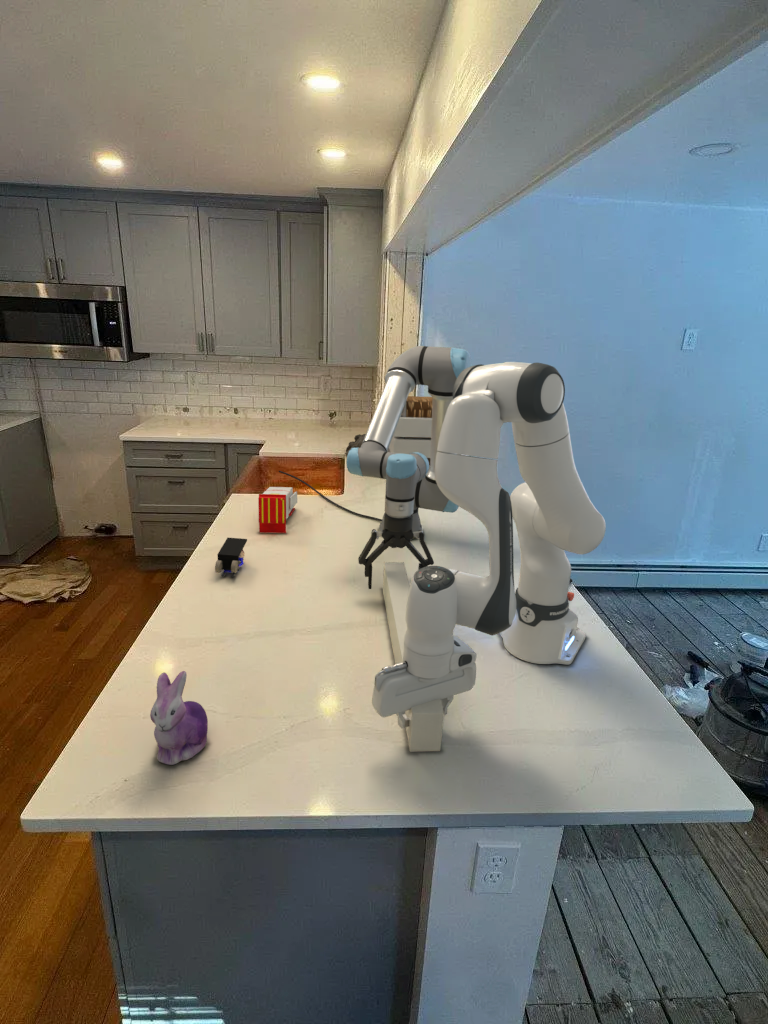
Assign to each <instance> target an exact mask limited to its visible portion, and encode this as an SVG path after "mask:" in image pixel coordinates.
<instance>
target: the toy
mask: <svg viewBox="0 0 768 1024" xmlns="http://www.w3.org/2000/svg"><path fill="white" fill-rule="evenodd" d="M293 490H294V488H293V487H288V486H286V487H285V486H269V487H268V488H267V489H265V490H264V492H262V493H258V498H257V499H258V530H259V531H258V533H261V534H262V533H264V534H287V520H288V518H289V517H291V516H292V515H293V514H294V512H295V510H296V508H295V506H296V504H298V491H297V490H296V491H293Z"/></svg>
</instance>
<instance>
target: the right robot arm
mask: <svg viewBox="0 0 768 1024" xmlns="http://www.w3.org/2000/svg"><path fill="white" fill-rule="evenodd" d="M565 393H566V386H565V381H564V379H563V376H562V375H561V373H560V372H559V370H558V369H557V368H556V367H555V366H552V365H550V364H547V363H543V362H533V363H532V362H522V361H505V362H500V363H490V364H481V363H480V364H475V365H472V366H471V367H468V368H466V369H464V370H463V371H462V372H461V373H460V374H459V376H458V378H457V379H456V382H455V384H454V388H453V400H452V401H451V403H450V404H449V406H448V409H447V412H446V415H445V418H444V421H443V425H442V429H441V432H440V437H439V442H438V448H437V451H441V452H437V454H436V461H435V480H436V483H437V485H438V487H439V489H440V490H441V492H442V493H443V494H444V495H445V496H446V497H447V498H448V499H449V500H450V501H452V502H453V503H454V504H456V505H458V506H459V507H458V508H460V509H463V511H466V512H468V513H469V514H471V515H473V516H474V517H475V518H476V519H477V520H479V522H481V523H482V525H483V526H484V527H485V529H486V531H487V535H488V555H489V556H488V560H489V561H488V563H489V564H488V565H489V566H488V567H489V569H488V570H489V574H488V576H483V575H478V574H474V573H468V572H464V571H460V570H457V569H452V568H449V567H448V568H447V567H444V566H440V565H428V566H427V567H423V568H421V569H419V570H418V569H417V570H416V571H415V572H414V573H413V575H412V577H411V580H410V588H409V593H408V598H407V605H406V616H405V620H406V624H407V631H406V633H405V636H404V647H403V662H401V663H397V664H395V663H394V664H392V665H387V666H384V667H382V669H381V670H380V671H379V672H377V674H375V675H374V683H373V684H374V687H373V691H372V698H371V705H372V707H373V709H374V711H376V713H377V714H378V715H379V716H380V717H381V718H387V717H390V716H394V715H396V716H397V725H398V726H399V727H400V729H406V727H408V726H409V718H408V717H407V716H406V714H405V711H406V710H410V709H411V707H414V706H417V705H420V704H423V703H426V702H429V701H433V700H436V699H439V698H440V700H441V704H442V707H443V711H444V715H447V713H448V707H449V706H450V705H451V703H452V702H453V700H454V698H455V696H457V695H460V694H462V693H467V692H470V691H471V690H472V689H473V688H474V686H475V684H476V680H477V664H476V660H477V652H476V651H475V650H474V649H473V648H472V647H471V646H470V645H469V644H468V643H467V642H465V641H464V640H463V639H462V638H460V637H459V636H457V635H454V630H455V628H456V625H457V626H462V627H466V628H470V629H473V630H475V631H478V632H480V633H483V634H486V635H489V636H496V635H498V634H499V635H500V636H501V637H502V642H503V643H502V644H503V646H504V648H505V649H506V651H507V652H508V653H510V655H512V656H514V657H515V658H517V659H519V660H522V661H525V662H528V663H532V664H536V665H537V664H538V665H551V664H560V665H565V666H566V665H571V664H573V661H574V659H575V658H576V656H577V654H578V652H579V650H580V648H581V647H582V645H583V643H584V641H585V639H586V633H585V632H584V631H583V630H582V629H581V628H579V627H578V625H579V616H578V615H577V613H576V612H574V611H573V610H571V609H570V602H572V601H573V600H574V598H575V593H574V592H571V591H569V589H570V583H573V582H574V581H573V579H572V578H571V576H572V565H571V561H570V560H569V558H568V556H567V554H566V552H569V553H573V554H576V555H586V554H589V553H591V552H593V551H594V550H596V549H597V548H598V547H599V546H600V545H601V544H602V542H603V540H604V538H605V535H606V531H607V526H606V525H607V524H606V520H605V517H604V516H603V515H602V513H600V511H598V509H597V508H596V507H595V505H594V504H593V502H592V501H591V498H590V497H589V494H588V493H587V490H586V489H585V486H584V484H583V482H582V480H581V478H580V477H581V476H580V475H579V473H578V470H577V467H576V463H575V458H574V452H573V447H572V440H571V439H572V438H571V434H570V433H571V432H570V426H569V420H568V416H567V411H566V407H565V405H564V401H565V396H566V394H565ZM504 423H505V424H507V423H511V428H512V429H511V430H512V437H513V442H514V448H515V453H516V459H517V465H518V470H519V474H520V476H521V478H522V479H523V481H524V482H521V483H520V484H519V485H518V486H516V487H515V488H514V489H513V490H512V492H511V493H509V492H508V491H507V490H505V489H504V488H503V486H502V485H501V483H500V478H499V475H498V474H499V473H498V461H499V456H500V455H499V454H500V446H501V428H502V427H503V425H504ZM442 452H448V453H442ZM450 453H455V454H450ZM458 454H461V455H458ZM513 522H514V523H513ZM514 524H515V527H516V533H517V539H518V544H519V549H520V550H519V552H520V568H519V576H518V583H517V584H518V585H517V587H516V589H515V575H514V572H515V571H514Z"/></svg>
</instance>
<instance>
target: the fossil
mask: <svg viewBox="0 0 768 1024" xmlns="http://www.w3.org/2000/svg"><path fill="white" fill-rule="evenodd" d="M365 435H366V433H363V434H361V433H360V434H356V435H355V436H354V441H349V442H348V445H347V447H346V449H345V455H346V457H347V455H348V452H349V451H350V450H351V449H352V448H357V447H359V448H360V447H361V445H362V442H363V440H364V437H365Z"/></svg>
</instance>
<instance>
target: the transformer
mask: <svg viewBox="0 0 768 1024" xmlns="http://www.w3.org/2000/svg"><path fill="white" fill-rule="evenodd" d="M432 401H433V398H432V396H415V395H414V396H413V395H412V396H411V395H408V397H407V400H406V402H405V405H404V408H403V410H402V413H401V416H400V418H399V421H398V424H397V426H396V429H395V432H394V434H393V437H392V440H391V442H390V445H389V448H388V450H387V452H392V453H400V454H410V453H413V452H419V453H422V454H423V455H424V456H426V458H427V459H428V462H429V467H430V456H431V428H432ZM458 455H462V454H458Z"/></svg>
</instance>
